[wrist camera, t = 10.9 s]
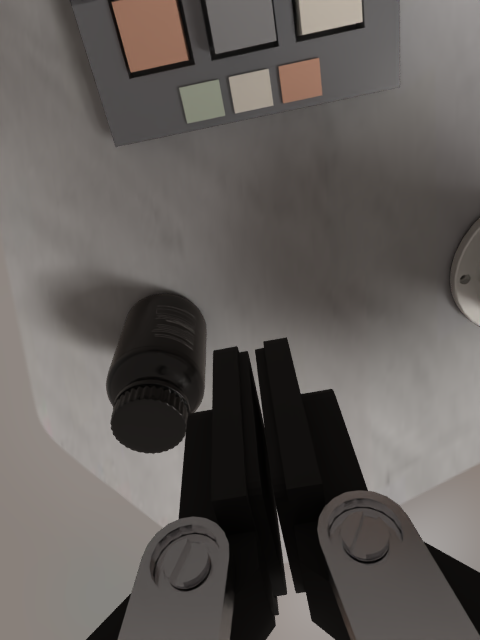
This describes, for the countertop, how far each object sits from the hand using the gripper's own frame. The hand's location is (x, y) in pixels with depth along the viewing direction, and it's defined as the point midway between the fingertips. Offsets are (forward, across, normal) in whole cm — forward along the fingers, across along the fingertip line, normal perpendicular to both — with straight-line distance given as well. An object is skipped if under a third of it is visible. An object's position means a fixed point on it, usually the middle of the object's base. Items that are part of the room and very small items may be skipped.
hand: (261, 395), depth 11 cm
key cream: (+24, -7, -9) cm, 27 cm away
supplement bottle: (+25, +8, +12) cm, 29 cm away
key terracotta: (+24, +3, -9) cm, 26 cm away
